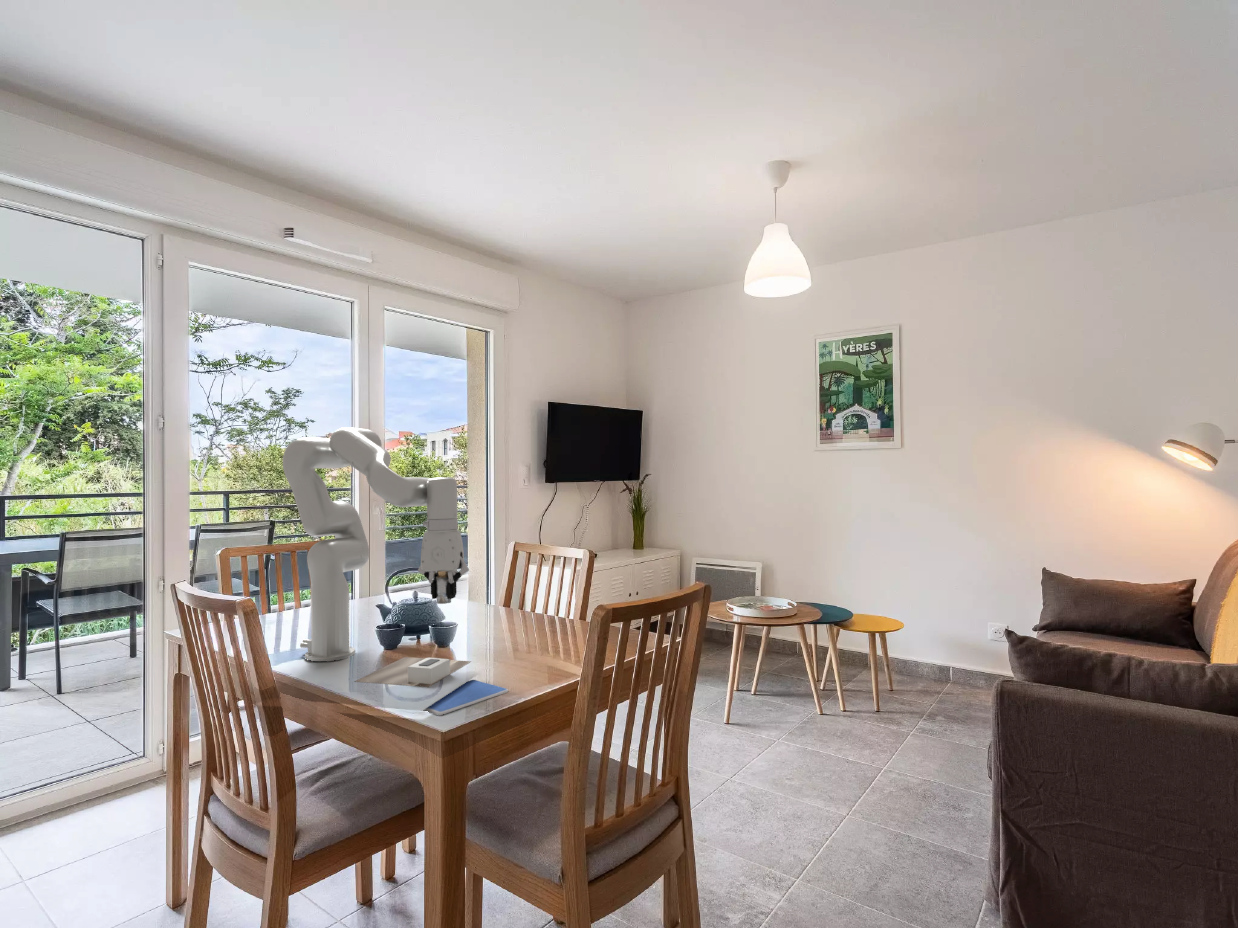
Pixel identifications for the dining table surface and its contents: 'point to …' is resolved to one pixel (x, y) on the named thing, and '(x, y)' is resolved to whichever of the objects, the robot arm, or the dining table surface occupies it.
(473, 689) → the tablet computer
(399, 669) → the beige flat panel
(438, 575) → the glass spice jar
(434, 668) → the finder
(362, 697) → the dining table surface
